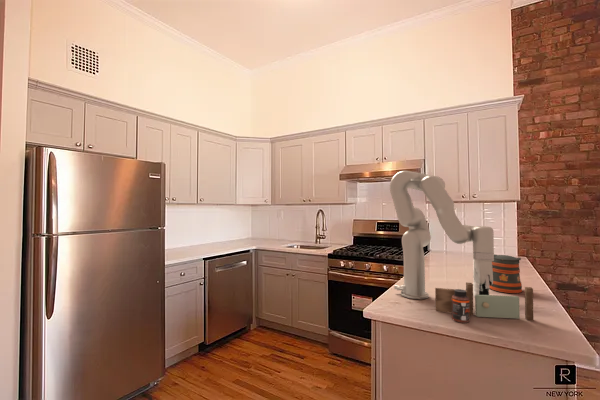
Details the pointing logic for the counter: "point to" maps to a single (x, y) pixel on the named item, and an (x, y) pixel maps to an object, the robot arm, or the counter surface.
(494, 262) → the beer stein
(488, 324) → the counter surface
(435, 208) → the robot arm
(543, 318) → the counter surface
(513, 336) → the counter surface
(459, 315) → the supplement bottle
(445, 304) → the wall frame
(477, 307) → the door leaf
